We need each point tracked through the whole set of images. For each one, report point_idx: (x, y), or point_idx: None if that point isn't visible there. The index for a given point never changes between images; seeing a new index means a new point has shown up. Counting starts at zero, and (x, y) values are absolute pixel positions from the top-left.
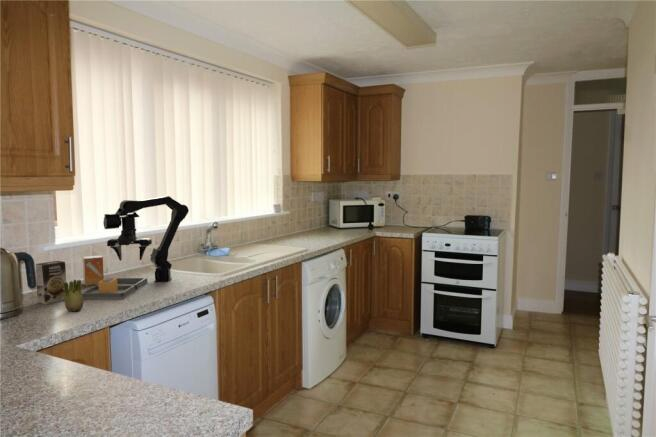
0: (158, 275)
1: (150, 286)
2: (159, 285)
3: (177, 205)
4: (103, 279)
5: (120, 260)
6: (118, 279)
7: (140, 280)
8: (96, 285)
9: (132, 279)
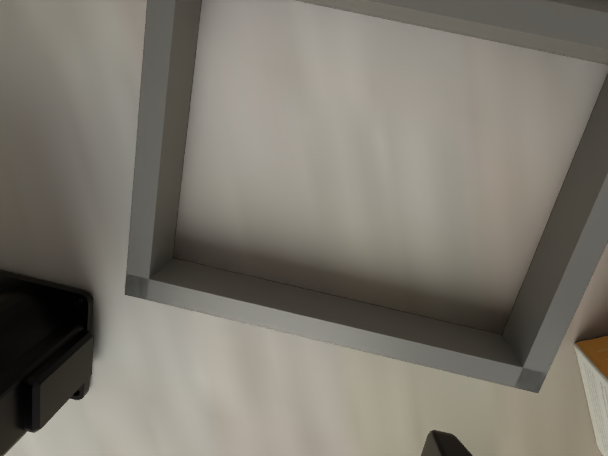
0: (19, 327)
1: (82, 107)
2: (6, 132)
3: None
4: (600, 368)
5: (435, 430)
6: (432, 340)
7: (201, 279)
8: None
9: (281, 302)
